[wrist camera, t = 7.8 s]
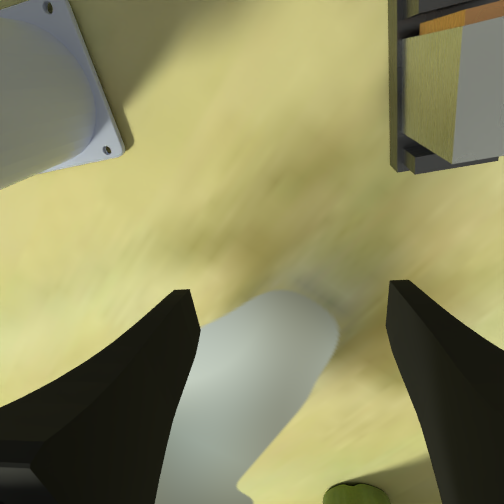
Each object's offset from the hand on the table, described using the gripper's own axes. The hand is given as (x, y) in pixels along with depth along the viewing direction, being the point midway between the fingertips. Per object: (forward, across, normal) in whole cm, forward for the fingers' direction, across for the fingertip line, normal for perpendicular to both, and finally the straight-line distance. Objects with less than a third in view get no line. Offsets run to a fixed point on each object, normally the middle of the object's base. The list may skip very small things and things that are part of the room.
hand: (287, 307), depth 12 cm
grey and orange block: (+8, -8, -6) cm, 13 cm away
